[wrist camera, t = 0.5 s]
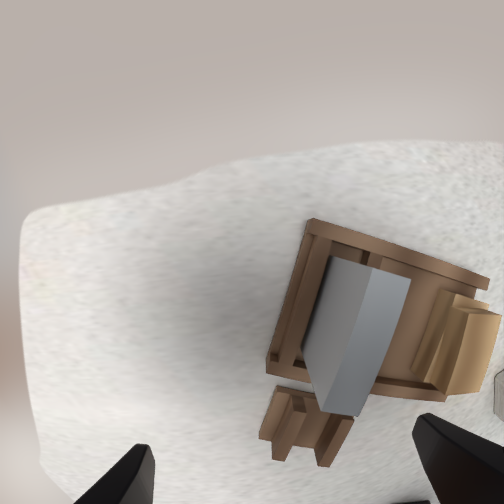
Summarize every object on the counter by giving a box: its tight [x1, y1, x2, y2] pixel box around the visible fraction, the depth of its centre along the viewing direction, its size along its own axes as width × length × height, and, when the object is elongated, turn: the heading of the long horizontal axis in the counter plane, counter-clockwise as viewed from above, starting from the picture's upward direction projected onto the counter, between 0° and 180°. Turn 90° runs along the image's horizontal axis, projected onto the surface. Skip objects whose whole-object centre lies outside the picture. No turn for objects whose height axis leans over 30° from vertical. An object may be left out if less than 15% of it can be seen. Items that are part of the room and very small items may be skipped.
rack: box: [266, 218, 490, 402], centre depth 21 cm, size 16×11×2 cm
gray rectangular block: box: [300, 255, 411, 417], centre depth 17 cm, size 2×7×9 cm, turn 164°
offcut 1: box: [410, 289, 489, 383], centre depth 20 cm, size 4×7×2 cm, turn 164°
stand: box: [259, 386, 354, 467], centre depth 21 cm, size 7×5×4 cm
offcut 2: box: [430, 306, 502, 396], centre depth 18 cm, size 4×6×2 cm, turn 172°
